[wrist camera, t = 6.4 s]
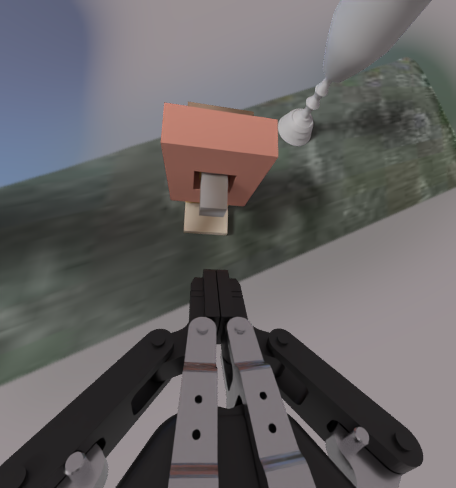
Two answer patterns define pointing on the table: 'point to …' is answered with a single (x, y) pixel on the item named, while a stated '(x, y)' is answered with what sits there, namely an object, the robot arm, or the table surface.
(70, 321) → the table surface
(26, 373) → the table surface
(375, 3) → the chalice
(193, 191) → the pink block with hole
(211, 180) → the pipe stand
